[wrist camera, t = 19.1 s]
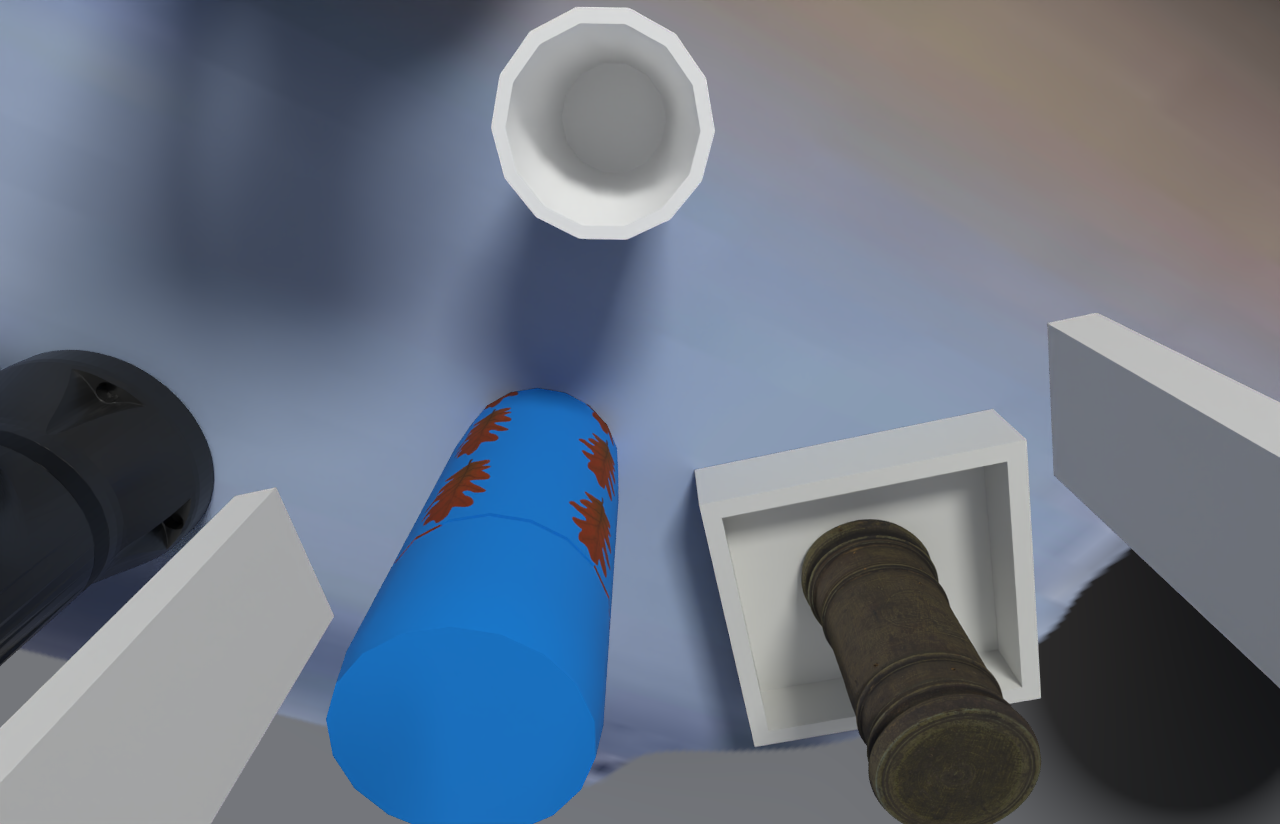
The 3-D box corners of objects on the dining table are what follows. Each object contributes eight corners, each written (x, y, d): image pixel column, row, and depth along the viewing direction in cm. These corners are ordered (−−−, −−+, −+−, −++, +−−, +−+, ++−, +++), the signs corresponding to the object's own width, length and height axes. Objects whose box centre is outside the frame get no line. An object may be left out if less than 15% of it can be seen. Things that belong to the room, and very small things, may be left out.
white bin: (746, 697, 61) (754, 746, 57) (694, 469, 54) (699, 505, 50) (1010, 650, 60) (1040, 698, 55) (992, 408, 52) (1026, 439, 48)
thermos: (567, 356, 51) (502, 576, 28) (649, 485, 55) (652, 776, 31) (429, 434, 53) (263, 698, 30) (517, 553, 57) (428, 873, 34)
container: (789, 531, 55) (852, 724, 38) (920, 503, 54) (1044, 688, 37) (811, 635, 58) (878, 855, 41) (935, 611, 57) (1055, 825, 40)
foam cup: (727, 135, 46) (756, 152, 34) (603, 234, 48) (588, 282, 36) (626, -10, 43) (619, -49, 31) (499, 101, 46) (446, 105, 33)
